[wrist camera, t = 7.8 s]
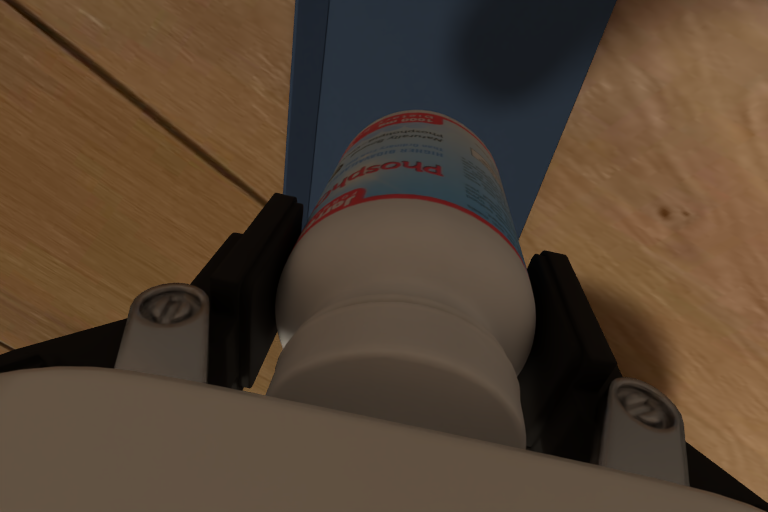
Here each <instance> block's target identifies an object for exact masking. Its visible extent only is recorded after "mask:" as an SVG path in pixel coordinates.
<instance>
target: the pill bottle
mask: <svg viewBox="0 0 768 512" xmlns="http://www.w3.org/2000/svg"><path fill="white" fill-rule="evenodd" d="M275 318H276V325H277V331H278V335H279V338H280V341H281V344H282V347H283V350H282V352H281V354H280V356H279V358H278V361H277V365H276V368H275V373H274V376H273V378H272V381H271V383H270V386H269V388H268V390H267V393H266V395H265V396H270V397H275V398H280V399H285V400H290V401H295V402H300V403H305V404H310V405H315V406H319V407H324V408H329V409H334V410H339V411H344V412H349V413H354V414H359V415H363V416H368V417H373V418H378V419H383V420H387V421H392V422H397V423H402V424H407V425H411V426H416V427H421V428H426V429H430V430H435V431H440V432H445V433H449V434H454V435H459V436H464V437H468V438H473V439H478V440H483V441H488V442H492V443H497V444H501V445H506V446H511V447H515V448H520V449H525V450H526V431H525V423H524V418H523V412H522V407H521V402H520V386H519V382H518V379H517V376H518V375H519V373H520V372H521V370H522V369H523V367H524V365H525V363H526V361H527V358H528V356H529V354H530V351H531V348H532V345H533V341H534V335H535V328H536V309H535V301H534V296H533V291H532V287H531V283H530V279H529V275H528V272H527V269H526V265H525V262H524V258H523V255H522V252H521V248H520V245H519V242H518V238H517V235H516V231H515V227H514V224H513V221H512V217H511V214H510V211H509V207H508V203H507V200H506V196H505V193H504V190H503V186H502V183H501V179H500V176H499V172H498V169H497V167H496V164H495V161H494V159H493V157H492V155H491V153H490V152H489V150H488V149H487V147H486V146H485V144H484V143H483V142H482V141H481V140H480V139H479V138H478V137H477V136H476V135H475V134H474V133H473V132H472V131H471V130H469V129H468V128H467V127H465V126H464V125H463V124H461V123H460V122H458V121H456V120H454V119H452V118H450V117H448V116H446V115H443V114H440V113H436V112H432V111H425V110H408V111H401V112H396V113H393V114H390V115H387V116H384V117H382V118H380V119H378V120H376V121H374V122H373V123H371V124H370V125H368V126H367V127H366V128H365V129H363V130H362V131H361V132H360V133H359V134H358V135H357V136H356V137H355V138H354V139H353V141H352V142H351V143H350V145H349V146H348V148H347V149H346V151H345V153H344V154H343V156H342V158H341V160H340V162H339V163H338V165H337V167H336V169H335V171H334V173H333V175H332V177H331V178H330V180H329V182H328V184H327V186H326V188H325V190H324V191H323V193H322V195H321V197H320V199H319V200H318V202H317V204H316V206H315V208H314V210H313V212H312V214H311V215H310V217H309V219H308V221H307V223H306V225H305V227H304V229H303V231H302V232H301V234H300V236H299V238H298V240H297V242H296V243H295V245H294V247H293V249H292V251H291V253H290V255H289V257H288V259H287V262H286V264H285V266H284V268H283V271H282V273H281V276H280V279H279V283H278V287H277V291H276V299H275Z"/></svg>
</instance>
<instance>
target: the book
mask: <svg viewBox="0 0 768 512" xmlns="http://www.w3.org/2000/svg"><path fill="white" fill-rule="evenodd" d="M616 1H617V0H296V1H295V16H294V32H293V48H292V63H291V79H290V94H289V110H288V125H287V141H286V157H285V172H284V188H283V194H284V195H289V196H293V197H296V198H297V203H301V204H303V207H304V208H303V220H302V230H301V232H302V231H303V229H304V227H305V225H306V223H307V221H308V219H309V217H310V215H311V214H312V212H313V210H314V208H315V206H316V204H317V202H318V200H319V199H320V197H321V195H322V193H323V191H324V190H325V188H326V186H327V184H328V182H329V180H330V178H331V177H332V175H333V173H334V171H335V169H336V167H337V165H338V163H339V162H340V160H341V158H342V156H343V154H344V153H345V151H346V149H347V148H348V146H349V145H350V143H351V142H352V141H353V139H354V138H355V137H356V136H357V135H358V134H359V133H360V132H361V131H362V130H363V129H365V128H366V127H367V126H368V125H370V124H371V123H373V122H374V121H376V120H378V119H380V118H382V117H384V116H387V115H390V114H393V113H396V112H401V111H408V110H425V111H432V112H436V113H440V114H443V115H446V116H448V117H450V118H452V119H454V120H456V121H458V122H460V123H461V124H463V125H464V126H465V127H467V128H468V129H469V130H471V131H472V132H473V133H474V134H475V135H476V136H477V137H478V138H479V139H480V140H481V141H482V142H483V143H484V144H485V146H486V147H487V149H488V150H489V152H490V153H491V155H492V157H493V159H494V161H495V164H496V167H497V169H498V172H499V176H500V179H501V183H502V186H503V190H504V193H505V196H506V200H507V203H508V207H509V211H510V214H511V217H512V221H513V224H514V227H515V231H516V235H517V238H518V240H519V237H520V235H521V232H522V230H523V227H524V225H525V223H526V220H527V218H528V215H529V213H530V210H531V208H532V206H533V203H534V201H535V198H536V196H537V193H538V191H539V188H540V186H541V184H542V181H543V179H544V176H545V174H546V171H547V169H548V167H549V164H550V162H551V159H552V157H553V154H554V152H555V150H556V147H557V145H558V142H559V140H560V137H561V135H562V132H563V130H564V128H565V125H566V123H567V120H568V118H569V115H570V113H571V111H572V108H573V106H574V103H575V101H576V98H577V96H578V94H579V91H580V89H581V86H582V84H583V81H584V79H585V76H586V74H587V72H588V69H589V67H590V64H591V62H592V59H593V57H594V55H595V52H596V50H597V47H598V45H599V42H600V40H601V37H602V35H603V33H604V30H605V28H606V25H607V23H608V20H609V18H610V16H611V13H612V11H613V8H614V6H615V3H616Z"/></svg>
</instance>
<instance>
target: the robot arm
mask: <svg viewBox="0 0 768 512" xmlns="http://www.w3.org/2000/svg"><path fill="white" fill-rule="evenodd" d="M303 208H304V207H303V204H301V203H297V198H296V197H293V196H289V195H284V194H279V193H275V194H274V195H273V196H272V197H271V199H270V200H269V201H268V203H267V204H266V205H265V206H264V208H263V209H262V210H261V212H260V213H259V214H258V215H257V217H256V218H255V219H254V221H253V222H252V223H251V225H250V226H249V227H248V228H247V230H246V231H245V232H244V234H240V233H232V234H231V235H230V236H229V237H228V239H227V240H226V241H225V242H224V244H223V245H222V246H221V247H220V248H219V250H218V251H217V252H216V253H215V255H214V256H213V257H212V258H211V259H210V261H209V262H208V263H207V264H206V266H205V267H204V268H203V269H202V270H201V272H200V273H199V274H198V275H197V277H196V278H195V279H194V280H193V281H192V283H191V284H190V285H189V284H185V283H168V284H161V285H158V286H155V287H151V288H149V289H147V290H146V291H144V292H142V293H141V294H139V295H138V296H137V297H136V298H135V299H134V301H133V303H132V305H131V306H130V310H129V314H128V318H127V319H123V320H120V321H116V322H112V323H109V324H105V325H102V326H98V327H94V328H91V329H87V330H84V331H80V332H76V333H73V334H69V335H66V336H62V337H58V338H55V339H51V340H48V341H44V342H41V343H37V344H33V345H30V346H26V347H23V348H19V349H15V350H12V351H10V352H7V353H4V354H1V355H0V512H768V503H767V502H765V501H764V500H763V499H761V498H760V497H759V496H757V495H756V494H755V493H753V492H752V491H751V490H749V489H748V488H747V487H745V486H744V485H743V484H741V483H740V482H739V481H737V480H736V479H735V478H733V477H732V476H731V475H730V474H728V473H727V472H726V471H724V470H723V469H722V468H720V467H719V466H718V465H716V464H715V463H714V462H712V461H711V460H710V459H708V458H707V457H706V456H704V455H703V454H702V453H700V452H699V451H698V450H696V449H695V448H694V447H692V446H691V445H690V444H688V443H687V442H686V441H685V433H684V423H683V420H682V416H681V414H680V412H679V411H678V409H677V407H676V406H675V405H674V404H673V403H672V402H671V400H670V399H669V398H668V397H667V396H665V395H664V394H663V393H662V392H660V391H659V390H658V389H656V388H655V387H653V386H651V385H649V384H647V383H646V382H643V381H640V380H637V379H634V378H628V377H622V375H621V373H620V370H619V368H618V366H617V362H616V360H615V358H614V355H613V353H612V351H611V349H610V347H609V345H608V343H607V341H606V338H605V336H604V334H603V332H602V330H601V328H600V326H599V323H598V321H597V319H596V317H595V315H594V313H593V311H592V309H591V306H590V304H589V302H588V300H587V298H586V296H585V294H584V291H583V289H582V287H581V285H580V283H579V281H578V279H577V277H576V274H575V272H574V270H573V268H572V266H571V264H570V262H569V260H568V257H567V256H566V255H564V254H559V253H554V252H550V251H545V250H544V251H542V253H541V254H540V255H539V254H535V255H534V256H533V257H532V259H531V261H530V264H529V266H528V268H527V272H528V275H529V279H530V283H531V287H532V291H533V296H534V301H535V309H536V328H535V335H534V341H533V345H532V348H531V351H530V354H529V356H528V358H527V361H526V363H525V365H524V367H523V369H522V370H521V372H520V373H519V375H518V376H517V379H518V382H519V386H520V402H521V407H522V412H523V418H524V423H525V431H526V450H525V449H520V448H515V447H511V446H506V445H501V444H497V443H492V442H488V441H483V440H478V439H473V438H468V437H464V436H459V435H454V434H449V433H445V432H440V431H435V430H430V429H426V428H421V427H416V426H411V425H407V424H402V423H397V422H392V421H387V420H383V419H378V418H373V417H368V416H363V415H359V414H354V413H349V412H344V411H339V410H334V409H329V408H324V407H319V406H315V405H310V404H305V403H300V402H295V401H290V400H285V399H280V398H275V397H270V396H265V395H261V394H256V393H251V392H246V391H242V390H243V388H244V387H246V388H251V387H252V385H253V383H254V381H255V379H256V377H257V375H258V372H259V370H260V368H261V366H262V364H263V362H264V359H265V357H266V355H267V353H268V351H269V348H270V346H271V344H272V342H273V340H274V338H275V335H276V333H277V325H276V318H275V299H276V291H277V287H278V283H279V279H280V276H281V273H282V271H283V268H284V266H285V264H286V262H287V259H288V257H289V255H290V253H291V251H292V249H293V247H294V245H295V243H296V242H297V240H298V238H299V236H300V234H301V230H302V220H303Z"/></svg>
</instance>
